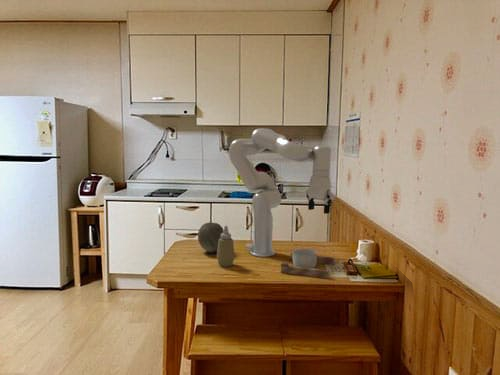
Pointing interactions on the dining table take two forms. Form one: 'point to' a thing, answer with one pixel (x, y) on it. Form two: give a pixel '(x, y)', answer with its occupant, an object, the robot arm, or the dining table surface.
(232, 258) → the squeeze bottle
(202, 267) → the dining table surface
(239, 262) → the dining table surface
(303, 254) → the teacup
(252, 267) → the dining table surface
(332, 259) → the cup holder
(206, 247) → the cantaloupe
